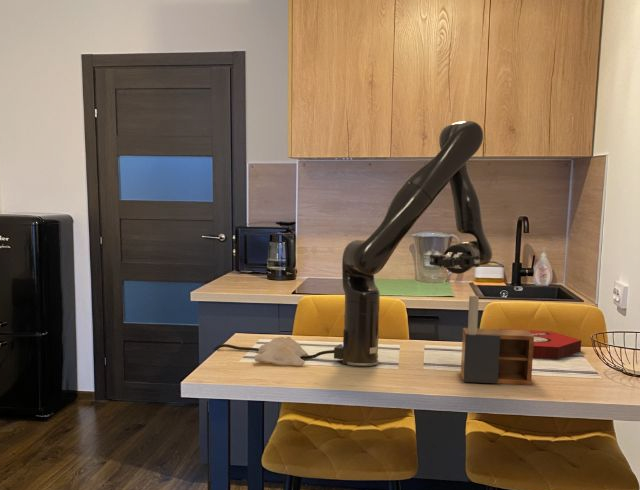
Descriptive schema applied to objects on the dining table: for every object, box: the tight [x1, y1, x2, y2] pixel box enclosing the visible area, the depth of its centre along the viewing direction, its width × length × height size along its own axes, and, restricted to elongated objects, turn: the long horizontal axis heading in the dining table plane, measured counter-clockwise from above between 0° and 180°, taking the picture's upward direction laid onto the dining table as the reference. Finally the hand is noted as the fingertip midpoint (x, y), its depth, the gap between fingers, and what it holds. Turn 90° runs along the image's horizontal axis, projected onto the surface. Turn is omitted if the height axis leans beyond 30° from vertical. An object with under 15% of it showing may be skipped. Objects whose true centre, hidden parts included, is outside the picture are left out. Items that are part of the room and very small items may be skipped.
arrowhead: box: [254, 336, 309, 367], centre depth 210 cm, size 14×5×30 cm
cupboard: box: [460, 327, 534, 386], centre depth 183 cm, size 16×8×12 cm, turn 81°
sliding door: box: [462, 295, 500, 384], centre depth 178 cm, size 8×2×21 cm, turn 81°
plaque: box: [504, 328, 582, 361], centre depth 221 cm, size 27×4×30 cm
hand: (447, 263), depth 176 cm, fingers closed
